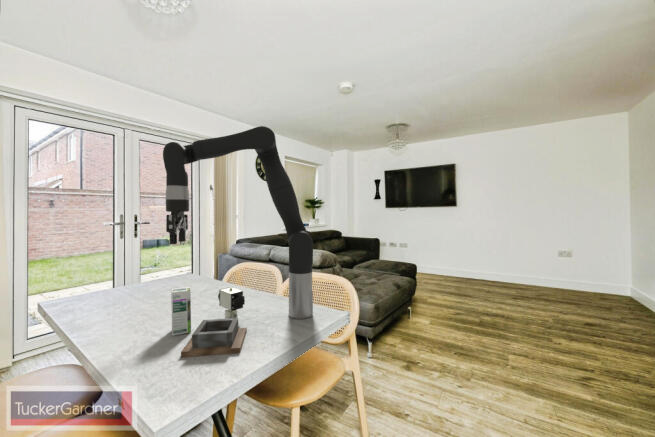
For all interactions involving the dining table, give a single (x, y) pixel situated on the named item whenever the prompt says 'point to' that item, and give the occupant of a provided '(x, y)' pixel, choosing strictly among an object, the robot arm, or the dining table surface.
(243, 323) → the dining table surface
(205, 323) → the dock socket
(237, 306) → the pneumatic valve
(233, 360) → the dining table surface
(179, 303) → the syrup box
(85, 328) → the dining table surface
